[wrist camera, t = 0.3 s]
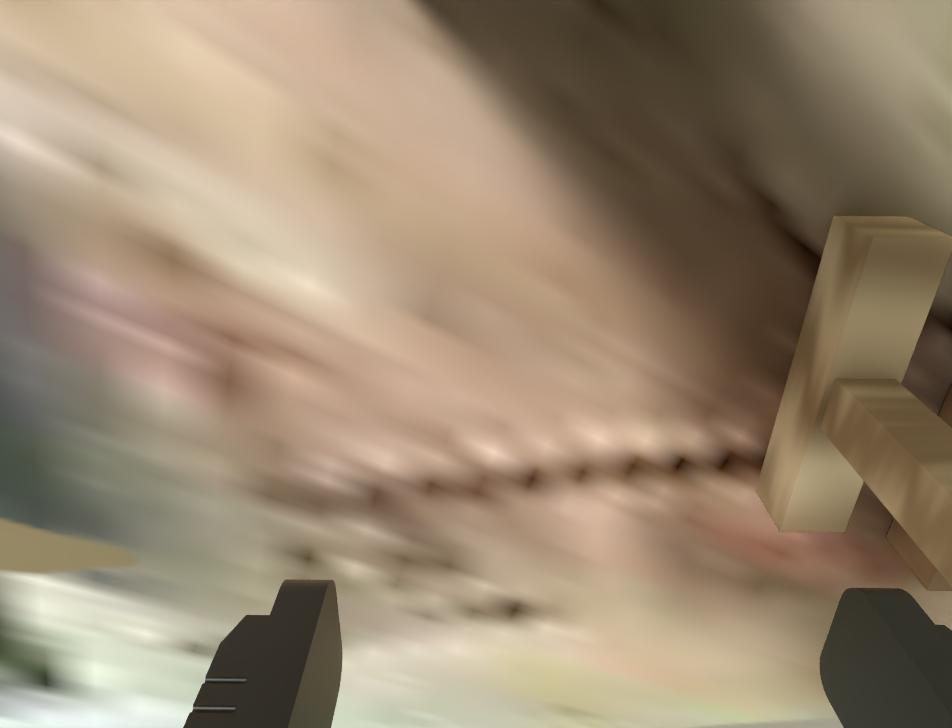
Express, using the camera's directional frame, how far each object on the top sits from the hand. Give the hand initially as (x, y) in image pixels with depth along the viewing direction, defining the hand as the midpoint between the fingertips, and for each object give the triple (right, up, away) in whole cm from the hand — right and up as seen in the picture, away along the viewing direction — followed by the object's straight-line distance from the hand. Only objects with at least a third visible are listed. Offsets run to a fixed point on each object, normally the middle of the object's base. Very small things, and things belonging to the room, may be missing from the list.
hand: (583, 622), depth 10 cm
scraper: (+14, +4, +19) cm, 24 cm away
